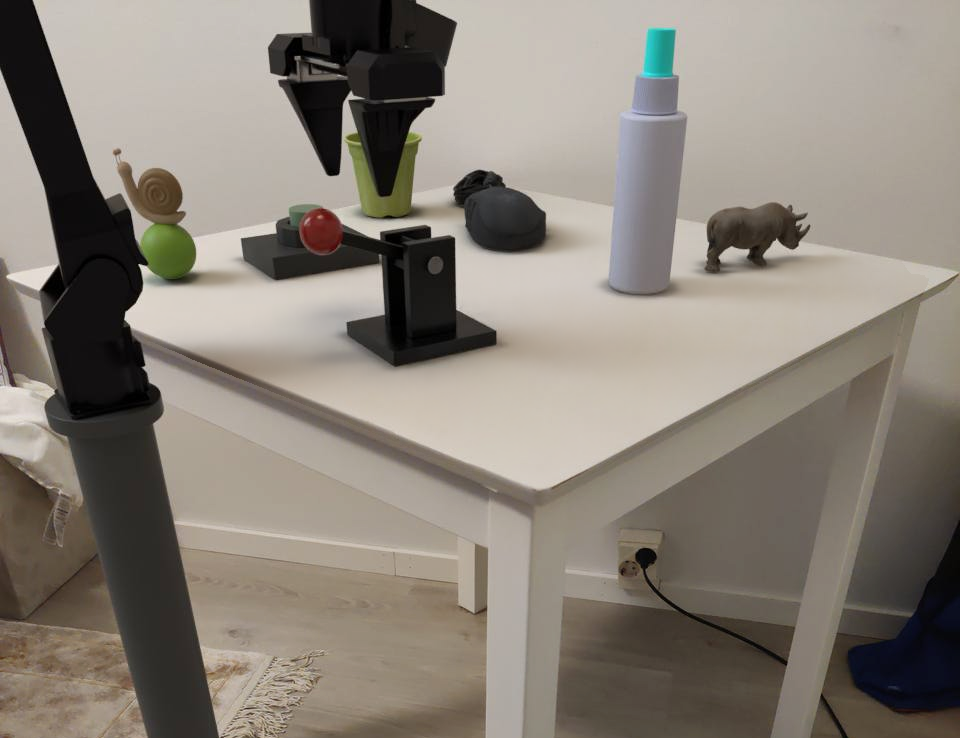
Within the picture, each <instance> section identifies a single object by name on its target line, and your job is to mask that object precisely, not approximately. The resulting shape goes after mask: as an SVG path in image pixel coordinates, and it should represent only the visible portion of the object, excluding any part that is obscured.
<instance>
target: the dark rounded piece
mask: <svg viewBox="0 0 960 738" xmlns="http://www.w3.org/2000/svg"><path fill="white" fill-rule="evenodd" d="M503 179H504V178H503V177H502V175H500V174H497V173H496V172H494V171H493V170H489V171H488V170H484V169H475V170H473V171H471V172H469V173H467V174H466V175H464V177H462V179H460V180H459V181H458V182H457V183H456V184H455V185H454V186H453V188H452V191H453V197H454V200H455V202H456V203H458V204H461V205H463V210H464V220H465V224H464V227H465V228H466V230H467V233H468V235H469V236H470V238H471V240H472V241H473V242H474V243H475V244H476V245H478V246H479V247H481V248H484V249H487V250H493V251H509V252H510V251H521V250H527V249H528V250H529V249H532V248H535V247H537V246H539V245H541V244H542V243H543V241H544V240H545V238H546V236H547V213H546V211H545V210H543V209H541V207H539V206H538V205H537V203H535V201H534V200H533V199H532V198H531V197H530V196H529V195H527V194H526V193H524V192H521V191H520V190H518V189H515V188H512V187H507V185H506V184H505V183H504V181H503Z"/></svg>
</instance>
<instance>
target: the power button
mask: <svg viewBox="0 0 960 738" xmlns="http://www.w3.org/2000/svg"><path fill="white" fill-rule="evenodd" d="M316 208H324V206H322V205H320V204H313V203H312V204H311V203H305V204H304V203H303V204H296V205H293V206H292V205H291V206H290V207H288V215H289V216H288V217H290V225H291V226H296V227H300V223H301V220H302V218H303V217H304V215H305V214H306V213H307V212H309V211H310V210H313V209H316Z"/></svg>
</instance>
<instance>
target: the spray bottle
mask: <svg viewBox="0 0 960 738" xmlns="http://www.w3.org/2000/svg"><path fill="white" fill-rule="evenodd" d="M676 32H677V29H676V28H672V27H649V28H647V30H646V40H645V51H644V58H643V59H644V60H643V70H642V73H639V74H636V75H635V81H634V88H633V95H632V96H633V97H632V105H631V109H627V110H625V111H622V112H621V114H620V117H619V129H618V142H617V143H618V145H617V158H616V170H615V185H614V198H613V210H612V225H611V238H610V239H611V241H610V254H609V268H608V284H609V286H610V287H612V289H613V290H616V291H618V292H620V293H624V294H631V295H653V294H658V293H661V292H663V291H665V290H666V289H667V288H668V287H669V285H670V281H671V273H672V264H673V263H672V262H673V255H674V254H673V253H674V244H675V234H676V228H677V227H676V225H677V219H678V218H677V217H678V208H679V199H680V190H681V181H682V180H681V179H682V171H683V170H682V169H683V161H684V154H685V153H684V152H685V145H686V136H687V135H686V134H687V133H686V132H687V124H688V115H687V114H686V112H684V111H681V110H678V100H679V85H680V75H678V74H674V57H675V44H676Z"/></svg>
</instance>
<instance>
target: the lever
mask: <svg viewBox="0 0 960 738" xmlns="http://www.w3.org/2000/svg"><path fill="white" fill-rule="evenodd" d="M342 224H343V223H342V221H341V220H340V217H338V215H337V214H335V212H333V211H332V210H330V209H327V208H324V207H323V208H316V209H313V210H310V211H309V212H307V213H306V214H305V215H304V217H303V218H302V220H301V223H300V227H299V234H300V238H301V241H302V243H303V244H304V246H305V247H306V248H307V249H308V250H309V251H311V252H312V253H314V254H317V255H328V254H331V253H333V252H334V251H336V250H337V249H338V248H339V246H340V245H345V246H349V247H353V248H357V249H360V250H364V251H368V252H372V253H376V254H379V256H381V255H384V256H388V257H392V258H396V260H395V264H394V265H395V266H397V267H399V268H401V269H403V270H404V260H403V242H408V241H415V240H416V239H412V238H409V237H405V236H401V240H400V244H399V245H398V244H394V243H390V242H386V241H383V240H380V238H378V239H377V238H376V237H371V236H368V235H366V236H364V235H365V234H364V235H360V234H356V233H352V232H349V231H345V230H343V226H342Z"/></svg>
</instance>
